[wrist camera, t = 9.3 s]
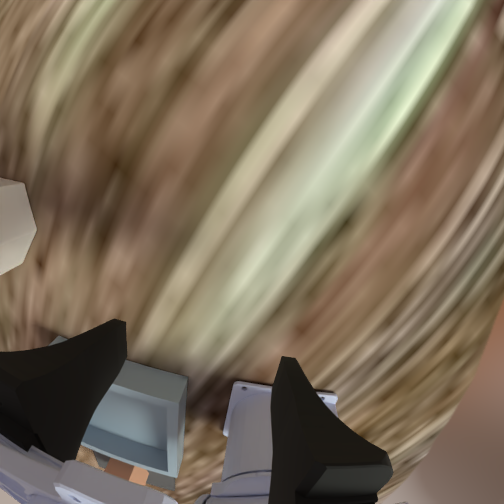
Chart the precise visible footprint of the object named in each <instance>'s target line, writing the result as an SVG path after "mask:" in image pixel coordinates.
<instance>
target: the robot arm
mask: <svg viewBox="0 0 504 504" xmlns="http://www.w3.org/2000/svg"><path fill="white" fill-rule="evenodd" d="M126 358H127V341H126V322H124V321H121V320H117V319H112V320H110V321H108V322H106V323H104V324H102V325H99V326H97V327H95V328H93V329H91V330H89V331H87V332H85V333H82V334H80V335H78V336H75V337H73V338H70V339H68V340H66V341H63V342H60V343H57V344H53V345H50V346H46V347H42V348H36V349H31V350H25V351H14V352H0V488H1V489H2V490H4V491H5V492H6V493H8V494H9V495H10V496H11V497H13V498H14V499H15V500H17V501H18V502H19V503H21V504H178V503H177V502H176V500H175V499H173V498H172V497H170V496H168V495H167V494H165V493H163V492H160V491H157V490H155V489H152V488H150V487H147V486H143V485H140V484H137V483H134V482H131V481H128V480H125V479H123V478H120V477H117V476H115V475H112V474H109V473H107V472H104V471H102V470H99V469H97V468H95V467H92V466H90V465H88V464H85V463H82V462H79V461H77V460H75V459H76V456H77V453H78V450H79V447H80V445H81V442H82V439H83V437H84V434H85V432H86V429H87V427H88V425H89V423H90V420H91V418H92V416H93V414H94V412H95V410H96V408H97V407H98V405H99V403H100V402H101V400H102V399H103V397H104V396H105V394H106V393H107V391H108V390H109V388H110V387H111V385H112V384H113V382H114V381H115V379H116V377H117V376H118V374H119V373H120V371H121V369H122V367H123V365H124V362H125V360H126ZM243 387H247V388H243ZM320 397H323V398H320ZM337 399H338V397H337V395H336V394H335V393H325V392H316V391H315V390H314V388H313V387H312V385H311V384H310V382H309V381H308V379H307V377H306V376H305V374H304V372H303V370H302V369H301V367H300V365H299V363H298V361H297V360H296V358H291V357H285V356H282V357H281V361H280V364H279V367H278V370H277V374H276V377H275V380H274V383H273V386H266V385H259V384H253V383H247V382H242V381H236V382H234V384H233V387H232V392H231V397H230V401H229V406H228V411H227V415H226V420H225V425H224V429H223V434H224V435H225V436H228V440H227V446H226V453H225V459H224V466H223V472H222V478H221V482H218V483H212V488H211V494H204V495H201V496H200V497H199V498H198V499H197V500H196V501H195V503H194V504H375V503H376V502H377V501H378V497H377V492H378V491H379V490H380V489H381V488H382V487H383V486H384V485H385V484H386V483H387V482H388V481H389V480H390V479H391V477H392V475H393V469H392V466H391V462H390V459H389V457H388V454H387V452H386V451H384V450H382V449H381V448H379V447H377V446H375V445H373V444H371V443H370V442H368V441H367V440H365V439H364V438H362V437H361V436H359V435H358V434H356V433H355V432H354V431H352V430H351V429H350V428H349V427H348V426H346V425H345V424H344V423H343V422H342V421H341V420H340V419H339V418H338V415H337V410H336V406H335V403H336V401H337ZM397 504H409V503H408V502H403V503H397Z"/></svg>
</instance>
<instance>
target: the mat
mask: <svg viewBox="0 0 504 504" xmlns="http://www.w3.org/2000/svg"><path fill="white" fill-rule="evenodd" d="M93 452H94V454H95V457H96V459H97V462H98V465H99V466H100V467H102V468H106V466H107V464H108V462H109V460H110V458H111V457H109V456H106V455H104V454H101V453H99V452H96V451H94V450H93ZM147 471H148V473H149V475H148V478H147V481H146V483H147V484H151V485H154V486H157V487H161V488H165V489H168V490H172V491H175V477H171V476H167V475H163V474H160V473H156V472H153V471H149V470H147Z"/></svg>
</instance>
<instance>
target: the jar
mask: <svg viewBox="0 0 504 504" xmlns="http://www.w3.org/2000/svg"><path fill="white" fill-rule="evenodd" d="M36 231H37V227H36V224H35V221H34V217H33V214H32V210H31V207H30V203H29V200H28V196H27V192H26V188H25V184H24V183H22V182H18V181H13V180H8V179H4V178H0V275H2V274H4V273H5V272H7V271H9V270H11V269H13V268H15V267H17V266H18V265H20V264H22V263H23V261H24V259H25V256H26V254H27V252H28V249H29V247H30V245H31V242H32V240H33V238H34V236H35V234H36Z"/></svg>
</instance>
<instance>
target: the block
mask: <svg viewBox="0 0 504 504" xmlns="http://www.w3.org/2000/svg"><path fill="white" fill-rule="evenodd" d="M104 472H107V473H109V474H112V475H115V476H117V477H120V478H123V479H125V480H128V481H131V482H134V483H137V484H140V485H143V486H145V484H146V481H147V478H148V475H149V473H148V471H147V470H146V469H143V468H140V467H137V466H134V465H131V464H128V463H125V462H122V461H119V460H117V459H114V458H110V460H109V462H108V464H107V466H106V468H105V470H104Z"/></svg>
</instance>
